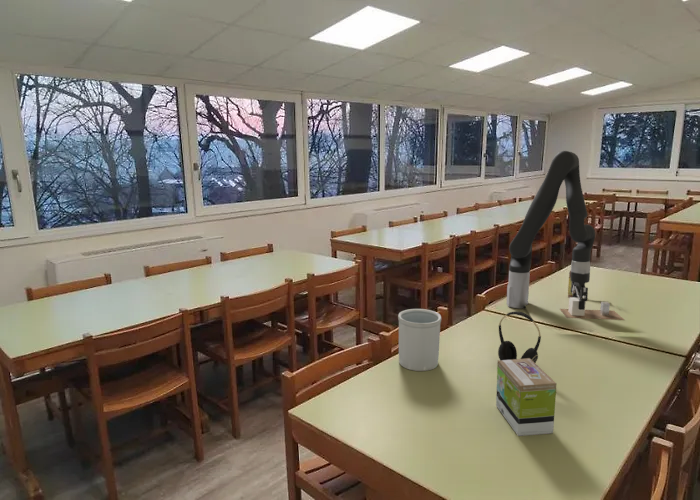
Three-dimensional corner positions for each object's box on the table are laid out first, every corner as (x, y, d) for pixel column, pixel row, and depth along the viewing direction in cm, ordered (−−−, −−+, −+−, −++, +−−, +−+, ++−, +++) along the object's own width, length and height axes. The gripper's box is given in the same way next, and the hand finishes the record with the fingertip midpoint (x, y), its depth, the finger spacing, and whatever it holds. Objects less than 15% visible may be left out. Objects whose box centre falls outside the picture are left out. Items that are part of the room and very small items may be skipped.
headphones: (532, 379, 148) (535, 320, 144) (490, 365, 159) (493, 310, 155) (544, 370, 154) (548, 314, 150) (503, 357, 165) (506, 304, 161)
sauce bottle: (582, 299, 226) (586, 260, 222) (569, 299, 228) (572, 260, 224) (579, 296, 233) (582, 257, 229) (565, 295, 234) (568, 257, 230)
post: (602, 315, 200) (603, 303, 199) (600, 313, 203) (601, 301, 202) (608, 315, 200) (609, 303, 199) (606, 313, 202) (607, 301, 201)
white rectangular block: (571, 315, 201) (572, 300, 200) (568, 311, 206) (569, 297, 205) (584, 315, 200) (585, 301, 199) (580, 311, 205) (581, 297, 204)
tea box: (494, 406, 133) (496, 358, 130) (527, 404, 134) (530, 356, 131) (517, 437, 118) (520, 384, 115) (554, 434, 119) (558, 382, 116)
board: (566, 321, 199) (566, 317, 198) (559, 311, 210) (559, 308, 210) (624, 323, 195) (624, 319, 194) (613, 313, 206) (613, 310, 206)
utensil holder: (443, 356, 166) (444, 310, 163) (436, 374, 153) (437, 325, 149) (403, 351, 171) (403, 306, 168) (393, 369, 158) (393, 320, 154)
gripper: (566, 266, 207) (564, 301, 210) (576, 274, 193) (574, 311, 196) (583, 266, 206) (581, 301, 209) (595, 274, 192) (593, 311, 195)
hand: (578, 306), depth 203 cm, fingers open, 8 cm apart
